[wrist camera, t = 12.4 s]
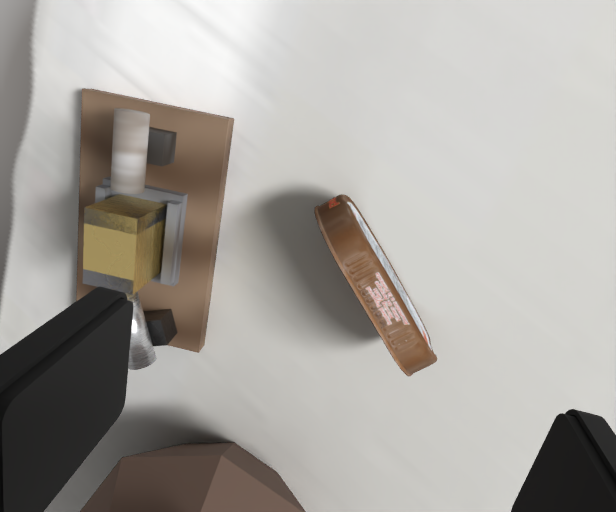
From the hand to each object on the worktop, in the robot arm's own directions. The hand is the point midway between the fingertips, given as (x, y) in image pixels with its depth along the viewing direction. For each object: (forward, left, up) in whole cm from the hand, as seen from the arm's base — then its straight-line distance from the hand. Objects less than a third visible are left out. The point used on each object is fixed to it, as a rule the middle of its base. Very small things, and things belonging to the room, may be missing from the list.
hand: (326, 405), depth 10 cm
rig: (+8, -17, -30) cm, 35 cm away
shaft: (+15, -16, -28) cm, 36 cm away
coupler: (+8, -17, -27) cm, 33 cm away
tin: (+7, +3, -30) cm, 31 cm away
